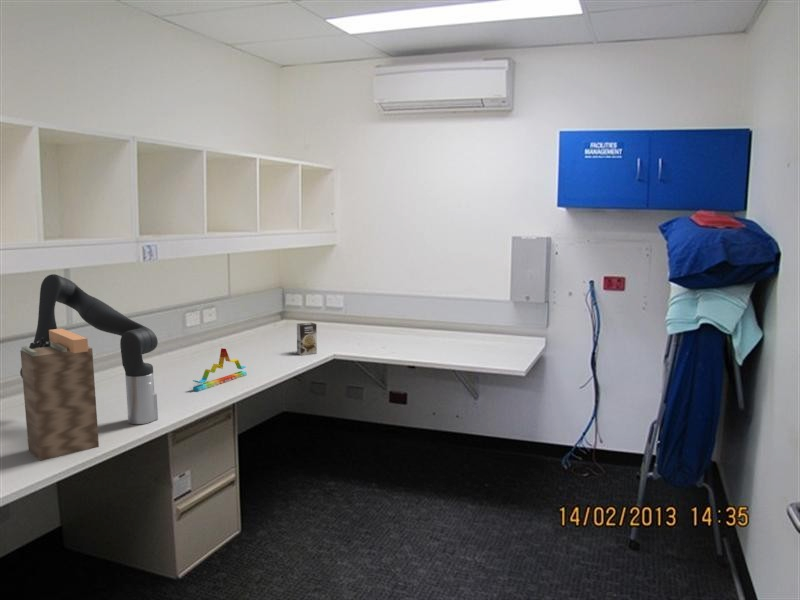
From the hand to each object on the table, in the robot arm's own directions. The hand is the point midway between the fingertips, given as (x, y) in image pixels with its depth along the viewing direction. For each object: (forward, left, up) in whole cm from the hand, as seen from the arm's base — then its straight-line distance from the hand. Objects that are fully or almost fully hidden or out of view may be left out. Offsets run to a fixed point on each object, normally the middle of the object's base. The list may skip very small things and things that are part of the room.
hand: (58, 338), depth 210 cm
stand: (+4, +11, -33) cm, 35 cm away
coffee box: (-133, -48, -34) cm, 145 cm away
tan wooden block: (0, +9, -1) cm, 9 cm away
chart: (-71, -26, -34) cm, 83 cm away
